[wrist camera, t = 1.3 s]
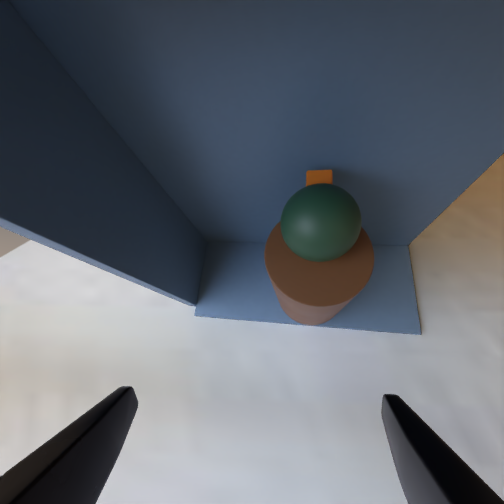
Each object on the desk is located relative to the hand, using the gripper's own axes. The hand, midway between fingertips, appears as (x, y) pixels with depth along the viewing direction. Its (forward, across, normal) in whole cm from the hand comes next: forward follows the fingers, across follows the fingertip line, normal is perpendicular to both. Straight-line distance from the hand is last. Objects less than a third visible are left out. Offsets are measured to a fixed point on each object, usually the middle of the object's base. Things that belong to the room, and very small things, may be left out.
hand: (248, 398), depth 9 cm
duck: (+14, -3, +4) cm, 15 cm away
